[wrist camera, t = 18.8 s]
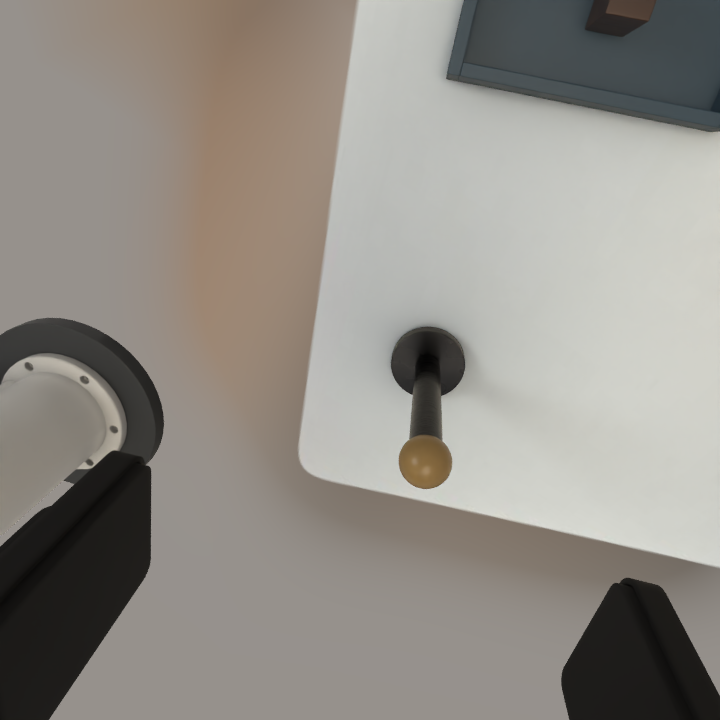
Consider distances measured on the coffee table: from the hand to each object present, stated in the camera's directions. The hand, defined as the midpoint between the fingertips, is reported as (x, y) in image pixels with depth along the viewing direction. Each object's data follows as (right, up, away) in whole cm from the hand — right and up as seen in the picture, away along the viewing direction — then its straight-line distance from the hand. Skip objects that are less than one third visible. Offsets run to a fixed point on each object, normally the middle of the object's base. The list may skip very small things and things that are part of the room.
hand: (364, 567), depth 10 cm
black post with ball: (+6, +4, +31) cm, 31 cm away
